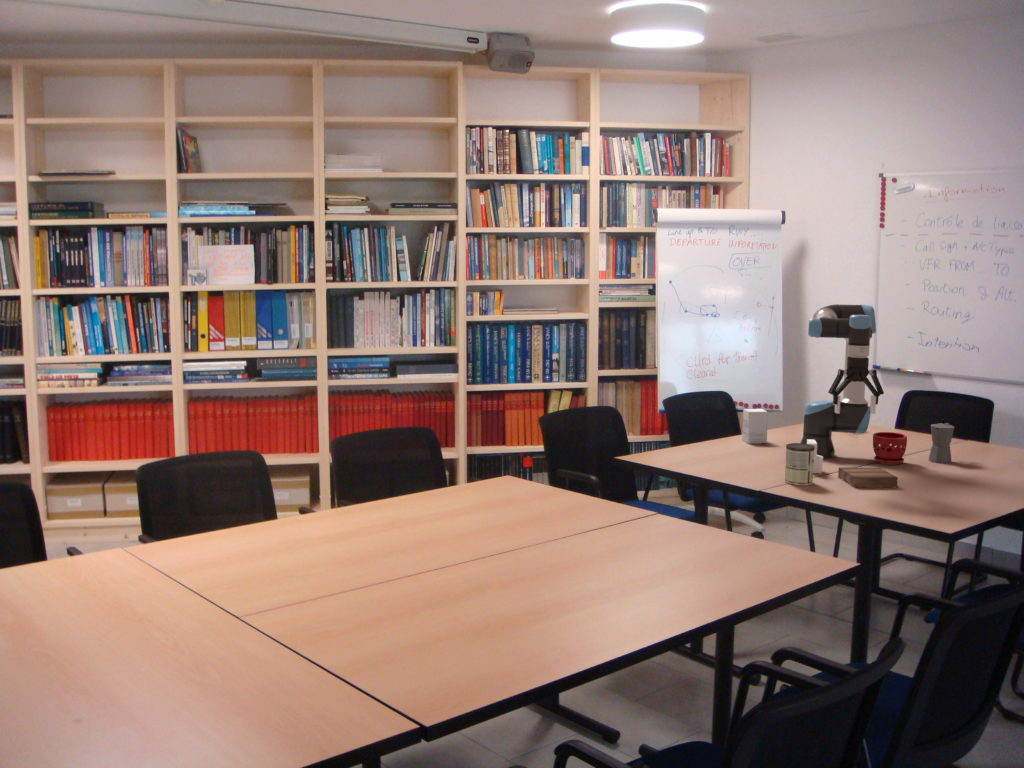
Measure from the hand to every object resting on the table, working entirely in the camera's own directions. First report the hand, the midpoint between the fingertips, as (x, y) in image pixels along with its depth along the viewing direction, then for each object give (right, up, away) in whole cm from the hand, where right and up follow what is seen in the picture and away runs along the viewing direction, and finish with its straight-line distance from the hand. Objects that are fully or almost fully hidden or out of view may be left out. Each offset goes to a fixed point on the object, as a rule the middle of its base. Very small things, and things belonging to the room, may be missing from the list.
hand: (854, 413), depth 349 cm
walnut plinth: (+6, -26, +3) cm, 27 cm away
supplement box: (-17, -16, +80) cm, 84 cm away
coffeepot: (+52, -22, +43) cm, 71 cm away
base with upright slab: (-10, -24, +22) cm, 34 cm away
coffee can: (-20, -26, +3) cm, 33 cm away
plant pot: (+28, -22, +39) cm, 53 cm away
